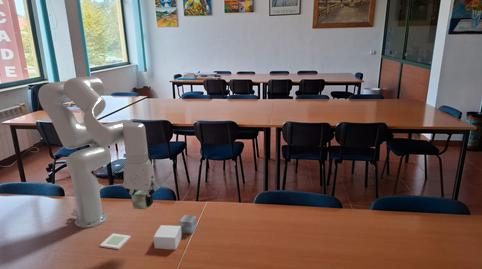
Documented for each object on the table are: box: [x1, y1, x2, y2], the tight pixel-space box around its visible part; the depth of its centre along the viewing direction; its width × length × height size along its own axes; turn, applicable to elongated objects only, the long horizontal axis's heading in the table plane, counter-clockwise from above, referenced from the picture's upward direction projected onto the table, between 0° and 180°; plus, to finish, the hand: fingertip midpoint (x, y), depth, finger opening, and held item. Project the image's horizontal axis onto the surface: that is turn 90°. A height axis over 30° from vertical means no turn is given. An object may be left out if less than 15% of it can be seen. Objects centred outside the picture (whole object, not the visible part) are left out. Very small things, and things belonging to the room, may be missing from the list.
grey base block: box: [153, 224, 183, 251], centre depth 124 cm, size 8×8×5 cm
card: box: [99, 233, 132, 250], centre depth 125 cm, size 8×8×1 cm
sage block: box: [131, 190, 149, 210], centre depth 120 cm, size 5×5×5 cm
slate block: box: [179, 214, 198, 235], centre depth 132 cm, size 5×5×5 cm
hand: (142, 204), depth 120 cm, fingers closed on sage block, 5 cm apart
